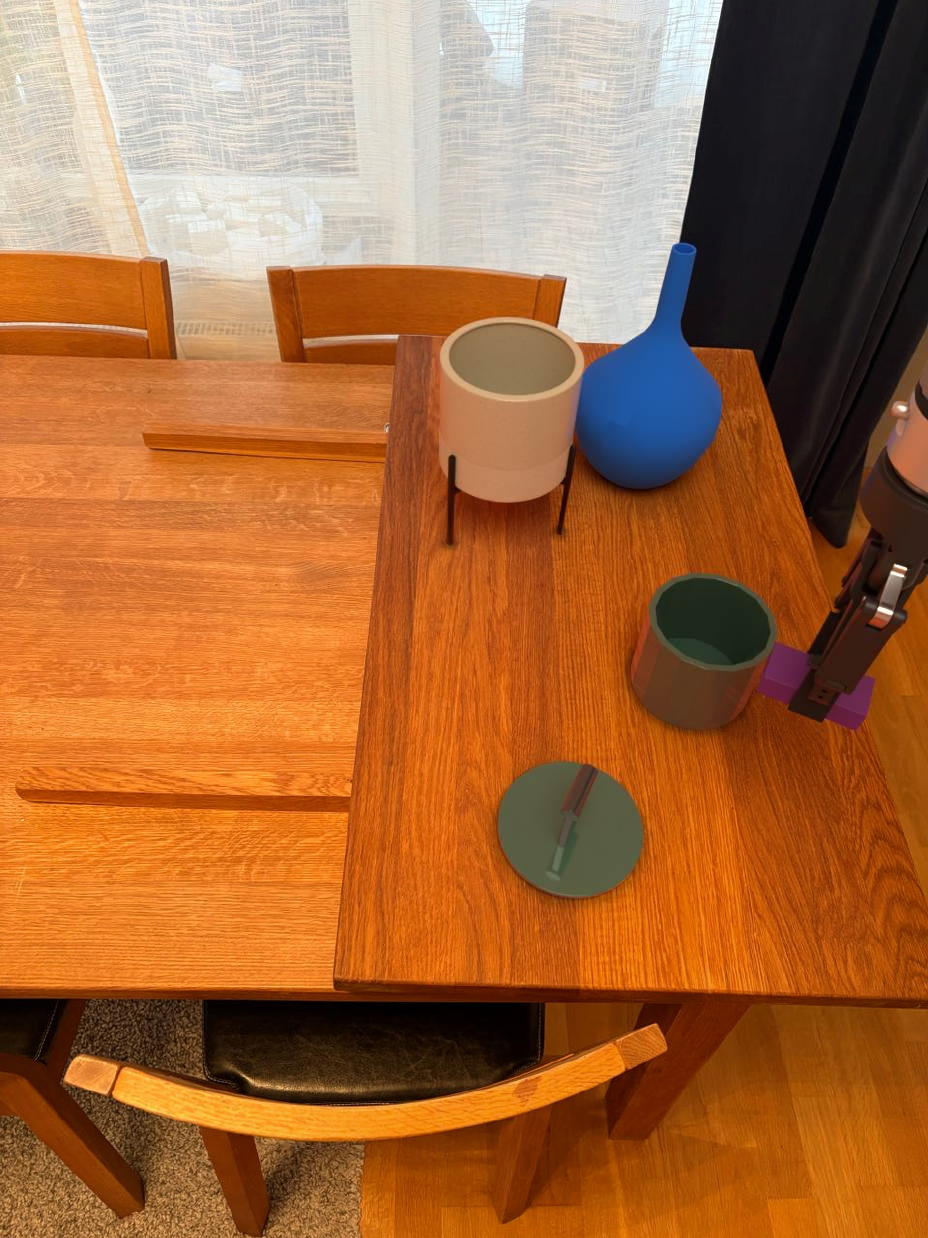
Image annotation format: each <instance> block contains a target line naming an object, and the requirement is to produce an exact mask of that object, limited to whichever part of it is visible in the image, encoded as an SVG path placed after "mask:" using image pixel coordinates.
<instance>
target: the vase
mask: <svg viewBox="0 0 928 1238" xmlns="http://www.w3.org/2000/svg"><path fill="white" fill-rule="evenodd" d="M696 254H697V248H696V247H695V246H694V245H693V244H691V243H687V242H677V243H674V244H673V245H672V246H671V249H670V253H669V258H668V261H667V264H666V269H665V272H664V276H663V281H662V285H661V289H660V292H659V296H658V301H657V306H656V310H655V313H654V317H653V319H652V321H651V323H650V324H649V325H648V327H647V328H646V329H645V330H643V332H641V333H639V334H638V335H636V336H635V337H633V338H632V339H630V340H629V341H627V342H625V343H623V344H622V345H620V346H619V347H617V348H615V349H613V350H611V351H609V352H607V353H605V354H604V355H601V356H600V357H598V358H596V359H594V360H593V361H592V362H591V363H590V364H589V365H588V366H586V367H585V368H584V372H583V378H582V384H581V390H580V397H579V403H578V409H577V416H576V422H575V428H574V430H575V434H576V437H577V441H578V444H579V446H580V449H581V451H582V453H583V455H584V456H585V458H586V459H587V461H588V463H589V464H590V466H592V468H593V469H594V470H595V471H596V472H597V473H598V474H600V475H602V477H604V478H605V479H606V480H608V481H609V482H611V483H613V484H615V485H617V486H620V487H624V488H627V489H631V490H632V489H633V490H644V489H645V490H646V489H653V488H658V487H662V486H664V485H667V484H670V483H671V482H673V481H675V480H676V479H678V478H679V477H681V476H682V475H684V474H686V473H687V472H688V471H690V470H691V469H692V468H693V467H694V466H695V465H696V463H697V462H698V461H699V460H700V458H701V457H702V456H703V455H704V453H705V452H706V451H707V450H708V448H710V446H711V445H712V444H713V443H714V441H715V439H716V436H717V433H718V430H719V426H720V423H721V419H722V413H723V397H722V391H721V388H720V386H719V384H718V383H717V380H716V379H715V377H713V375H712V374H711V373H710V372H709V370H708V369H707V368H706V367H705V366H704V364H703V363H702V362H701V361H700V360H699V359H698V358H697V356H696V354H695V352H694V351H693V350H692V349H691V347H690V345H689V343H688V342H687V341H686V339H685V338H684V335H683V331H682V323H681V321H682V316H683V313H684V310H685V309H684V308H685V305H686V301H687V296H688V292H689V286H690V284H691V283H690V281H691V278H692V273H693V270H694V269H693V268H694V263H695V260H696Z"/></svg>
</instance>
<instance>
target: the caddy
mask: <svg viewBox="0 0 928 1238" xmlns="http://www.w3.org/2000/svg"><path fill="white" fill-rule="evenodd" d="M776 622H777V621H776V618H775V614H774V612H773V611H772V610H771V609H770V607H769V606H768V604H767V602H766V601H765V600H764V599H763V597H761V595H759V594H758V593H756V592H755V591H754V590H752V589H751V588H750V587H748V586H747V585H746V584H744V583H742V582H740V581H738V580H735V579H733V578H729V577H726V576H723V575H721V574H718V573H707V572H689V573H685V574H682V575H677V576H674V577H671V578H670V579H669V580H667V581H665V582H664V583H663V584H662V585H660V586H659V587H657V589H655V591H654V594H653V596H652V598H651V600H650V602H649V604H648V606H647V610H646V613H645V617H644V619H643V623H642V627H641V630H640V633H639V636H638V639H637V642H636V646H635V650H634V653H633V656H632V660H631V663H630V682H631V686H632V690H633V692H634V694H635V696H636V698H637V699H638V701H639V702H640V703H641V704H642V706H643V707H644V708H645V709H646V710H647V711H648V712H649V713H650V714H652V715H653V716H654V717H656V718H657V719H659V720H660V721H662V722H663V723H666V724H669V725H671V726H674V727H677V728H680V729H683V730H689V731H708V730H709V731H710V730H713V729H717V728H720V727H723V726H725V725H727V724H729V723H730V722H732V721H733V720H735V718H736V717H738V716H739V714H740V713H741V712H742V711H743V710H744V708H745V706H746V704H747V702H748V701H749V698H750V696H751V694H752V693H753V691H754V689H755V687H756V685H757V683H758V681H759V680H760V678H761V676H762V673H763V670H764V667H765V664H766V661H767V658H768V656H769V654H770V652H771V650H772V648H773V646H774V644H775V642H777V638H778V636H779V632H778V628H777V623H776Z"/></svg>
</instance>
